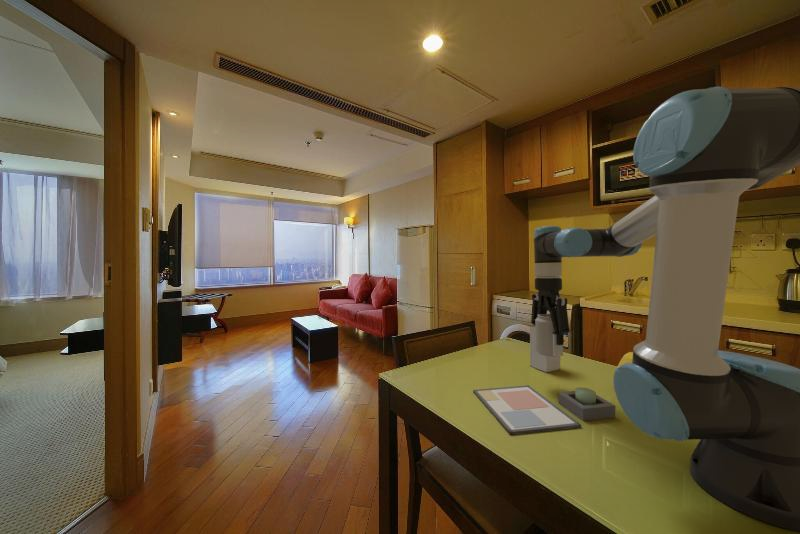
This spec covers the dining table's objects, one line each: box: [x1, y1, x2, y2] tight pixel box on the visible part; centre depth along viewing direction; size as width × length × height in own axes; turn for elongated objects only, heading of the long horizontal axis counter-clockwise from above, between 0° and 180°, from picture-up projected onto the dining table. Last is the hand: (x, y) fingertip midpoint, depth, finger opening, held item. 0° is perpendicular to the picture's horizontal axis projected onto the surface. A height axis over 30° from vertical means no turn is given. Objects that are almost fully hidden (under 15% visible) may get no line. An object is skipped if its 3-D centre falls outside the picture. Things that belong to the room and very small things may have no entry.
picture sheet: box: [472, 384, 582, 436], centre depth 80 cm, size 22×18×1 cm
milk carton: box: [529, 323, 561, 373], centre depth 108 cm, size 7×7×19 cm
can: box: [535, 313, 559, 357], centre depth 91 cm, size 8×8×12 cm
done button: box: [574, 387, 597, 405], centre depth 78 cm, size 5×5×3 cm
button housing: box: [557, 390, 616, 422], centre depth 78 cm, size 9×9×3 cm
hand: (549, 351), depth 91 cm, fingers closed on can, 7 cm apart
